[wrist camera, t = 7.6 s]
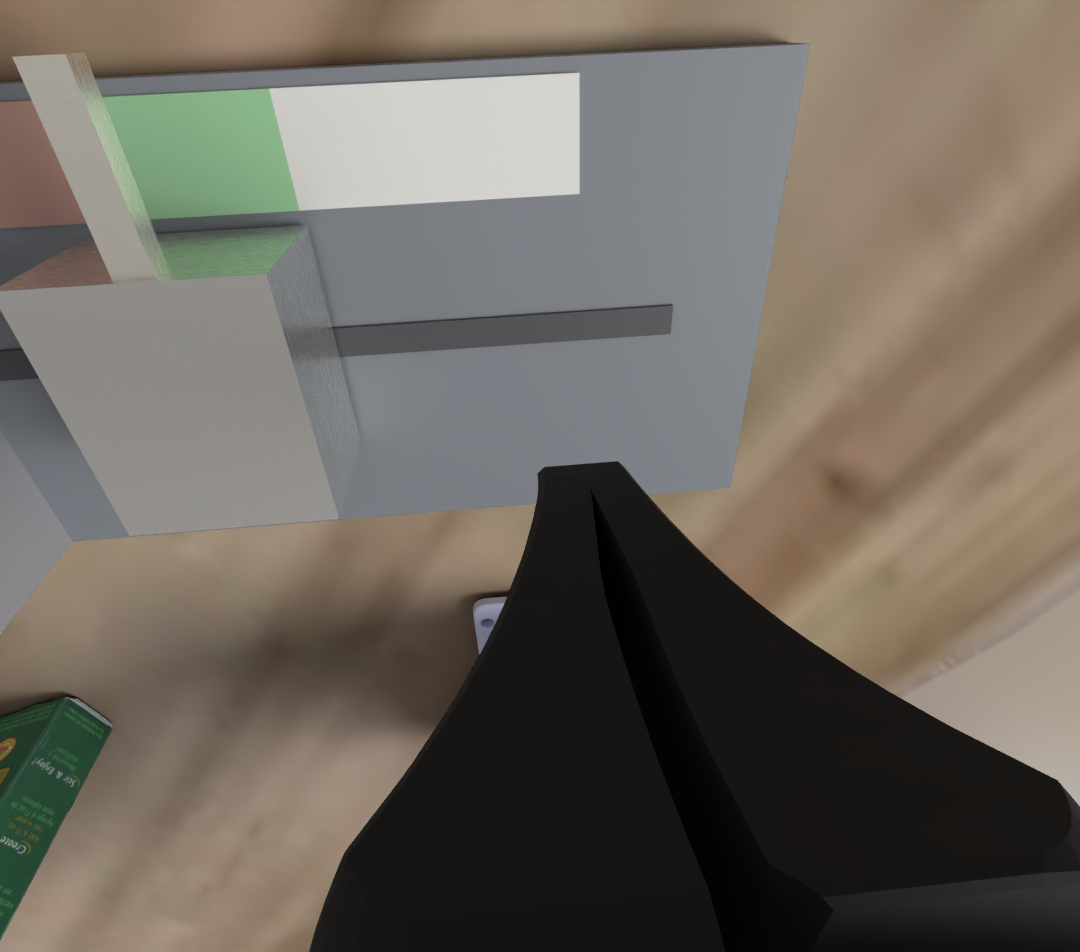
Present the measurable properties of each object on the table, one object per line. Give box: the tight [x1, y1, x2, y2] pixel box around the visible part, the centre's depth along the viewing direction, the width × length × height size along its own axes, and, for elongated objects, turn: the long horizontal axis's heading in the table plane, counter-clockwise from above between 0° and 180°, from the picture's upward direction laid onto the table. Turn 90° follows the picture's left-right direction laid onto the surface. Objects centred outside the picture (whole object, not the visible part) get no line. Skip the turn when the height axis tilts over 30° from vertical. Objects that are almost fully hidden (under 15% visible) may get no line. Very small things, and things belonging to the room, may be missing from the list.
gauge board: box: [0, 43, 810, 634], centre depth 15 cm, size 12×24×5 cm, turn 92°
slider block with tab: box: [0, 53, 361, 536], centre depth 14 cm, size 10×5×4 cm, turn 2°
